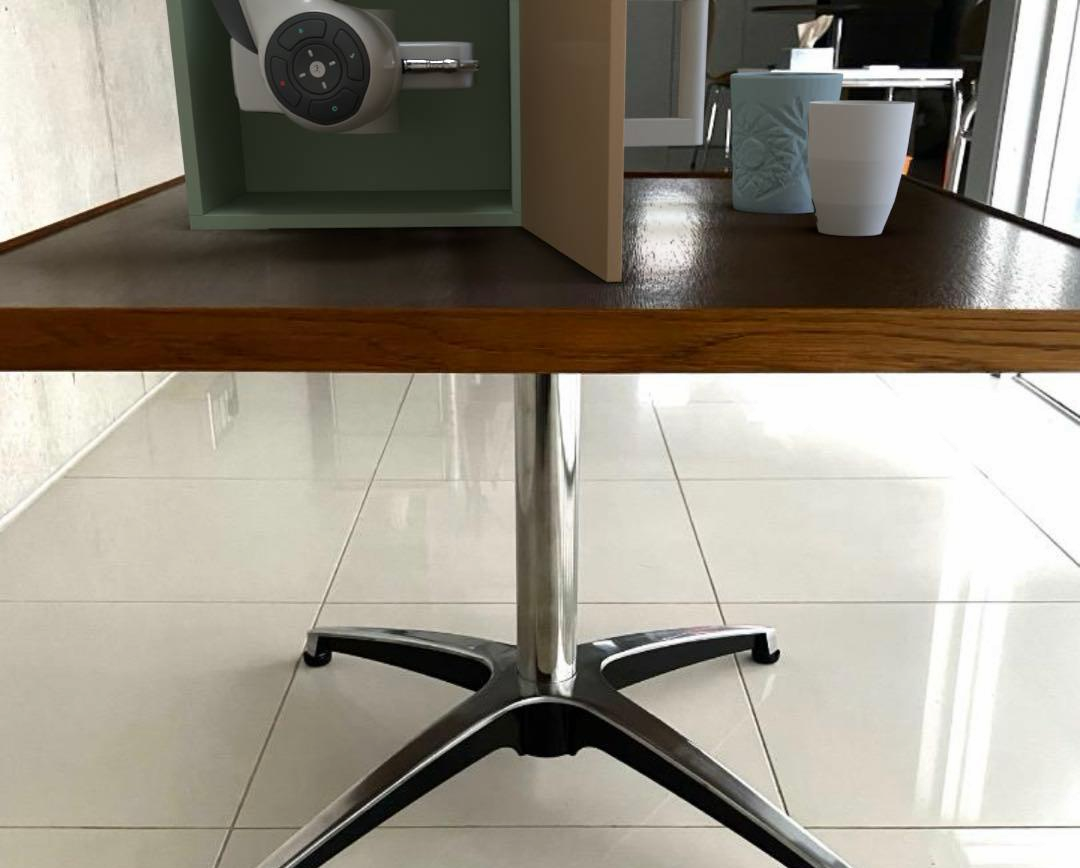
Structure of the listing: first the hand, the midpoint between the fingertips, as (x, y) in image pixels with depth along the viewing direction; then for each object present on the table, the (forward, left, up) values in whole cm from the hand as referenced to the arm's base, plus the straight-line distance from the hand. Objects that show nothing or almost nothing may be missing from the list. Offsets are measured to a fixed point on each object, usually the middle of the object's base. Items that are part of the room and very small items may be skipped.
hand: (364, 66), depth 108 cm
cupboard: (0, 0, -13) cm, 13 cm away
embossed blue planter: (+32, -21, -13) cm, 40 cm away
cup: (+24, -36, -13) cm, 45 cm away
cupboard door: (+1, -31, -13) cm, 33 cm away
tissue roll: (0, -1, -5) cm, 6 cm away
